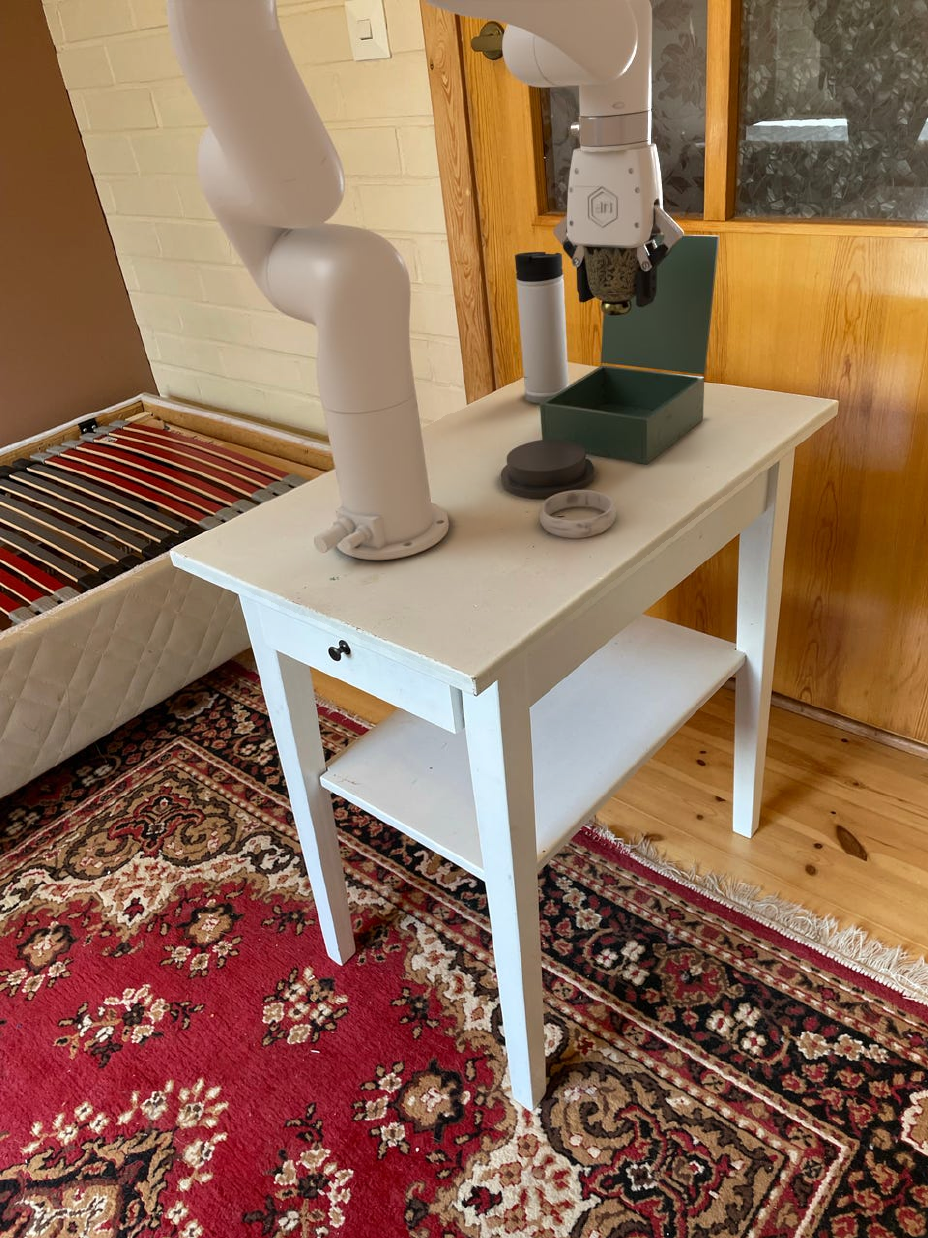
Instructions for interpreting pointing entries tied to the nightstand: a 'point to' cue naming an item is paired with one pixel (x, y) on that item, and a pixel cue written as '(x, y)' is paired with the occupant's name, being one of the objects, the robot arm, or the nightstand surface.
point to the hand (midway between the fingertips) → (616, 300)
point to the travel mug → (542, 324)
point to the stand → (546, 469)
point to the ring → (579, 526)
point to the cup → (612, 277)
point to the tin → (624, 412)
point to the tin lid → (669, 313)
